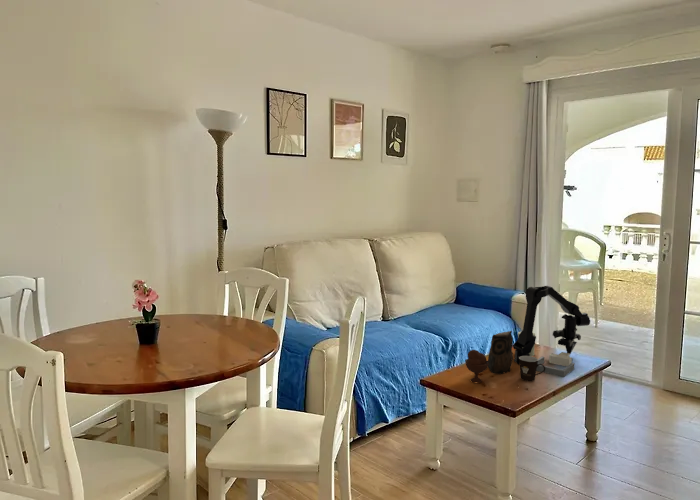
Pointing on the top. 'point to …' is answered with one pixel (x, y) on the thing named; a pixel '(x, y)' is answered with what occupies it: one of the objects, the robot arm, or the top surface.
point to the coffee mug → (528, 367)
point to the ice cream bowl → (476, 364)
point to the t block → (560, 359)
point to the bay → (554, 370)
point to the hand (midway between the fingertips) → (568, 354)
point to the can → (532, 348)
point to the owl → (501, 353)
